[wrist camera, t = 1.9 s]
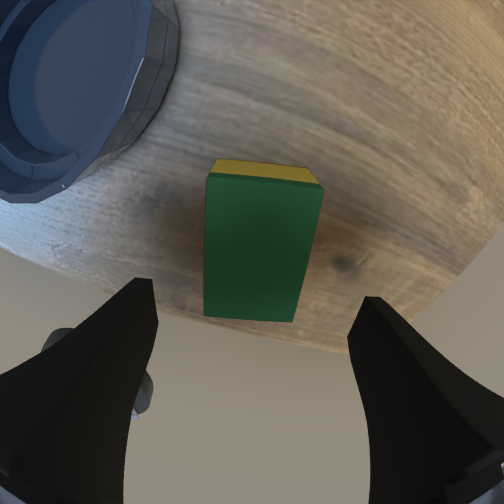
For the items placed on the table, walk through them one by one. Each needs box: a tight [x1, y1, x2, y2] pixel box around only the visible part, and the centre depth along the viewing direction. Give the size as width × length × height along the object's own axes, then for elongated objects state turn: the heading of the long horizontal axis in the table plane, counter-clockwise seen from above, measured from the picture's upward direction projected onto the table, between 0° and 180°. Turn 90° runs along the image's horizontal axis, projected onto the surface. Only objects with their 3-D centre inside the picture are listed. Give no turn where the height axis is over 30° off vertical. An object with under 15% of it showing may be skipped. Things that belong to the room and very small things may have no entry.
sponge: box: [204, 159, 324, 322], centre depth 13 cm, size 7×4×4 cm, turn 174°
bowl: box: [0, 0, 179, 203], centre depth 8 cm, size 13×13×4 cm
